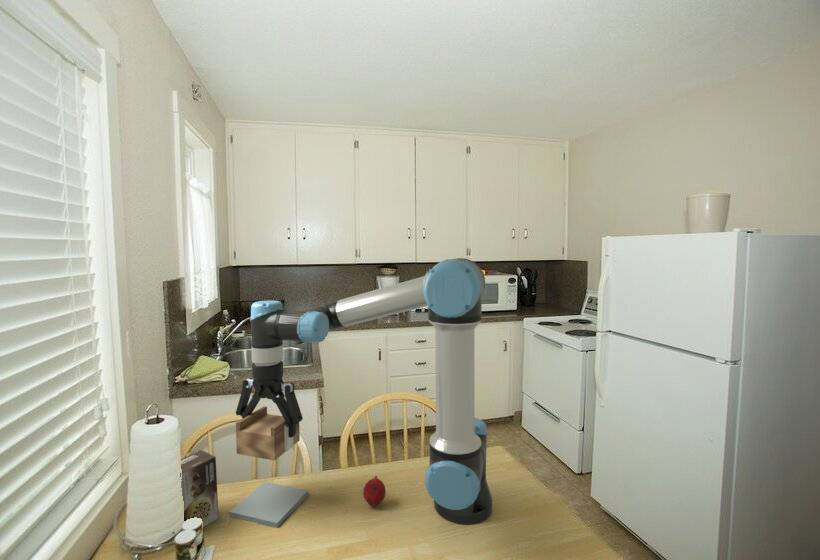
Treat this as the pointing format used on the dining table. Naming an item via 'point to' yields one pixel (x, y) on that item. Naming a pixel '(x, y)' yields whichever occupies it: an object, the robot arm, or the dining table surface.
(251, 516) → the base board
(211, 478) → the coffee box
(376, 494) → the onion
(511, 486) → the dining table surface
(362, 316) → the robot arm
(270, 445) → the wooden channel block
